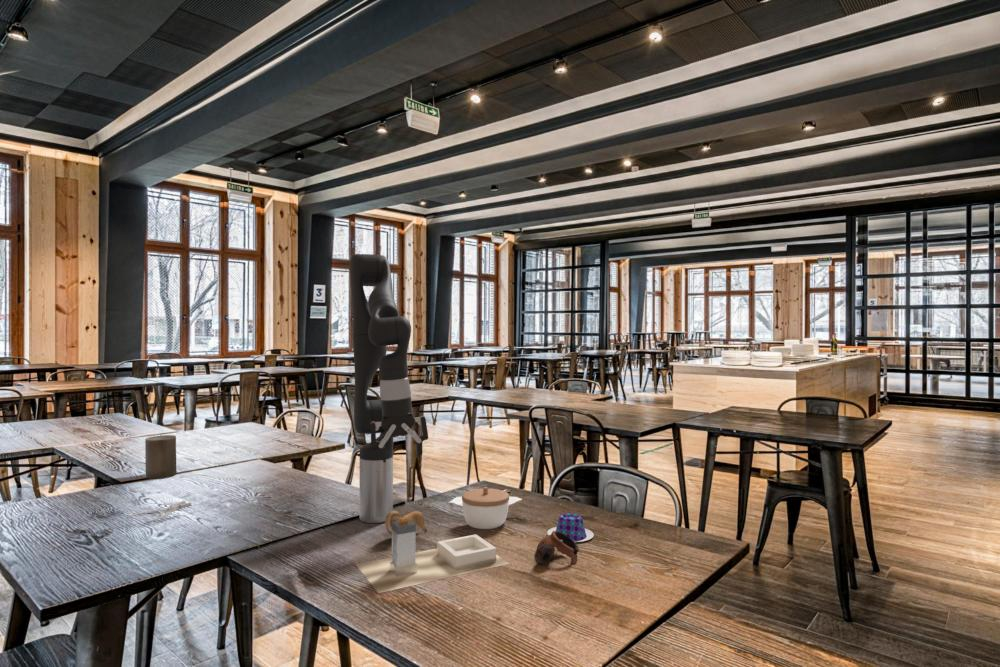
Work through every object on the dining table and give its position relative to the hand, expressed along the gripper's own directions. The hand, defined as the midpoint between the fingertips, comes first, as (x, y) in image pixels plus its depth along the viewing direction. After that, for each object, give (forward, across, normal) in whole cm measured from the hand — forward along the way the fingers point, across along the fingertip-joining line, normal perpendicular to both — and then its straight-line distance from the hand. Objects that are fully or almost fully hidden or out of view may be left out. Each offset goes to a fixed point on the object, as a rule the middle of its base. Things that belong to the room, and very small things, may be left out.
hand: (401, 459), depth 150 cm
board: (+20, -4, +22) cm, 30 cm away
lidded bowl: (+23, -20, -3) cm, 31 cm away
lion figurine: (+20, +1, +3) cm, 21 cm away
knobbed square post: (+18, +2, +24) cm, 30 cm away
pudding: (+24, -41, +7) cm, 48 cm away
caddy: (+19, -12, +20) cm, 30 cm away
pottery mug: (+23, -31, +24) cm, 45 cm away
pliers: (+16, +68, -34) cm, 77 cm away
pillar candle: (+15, +83, -80) cm, 116 cm away
